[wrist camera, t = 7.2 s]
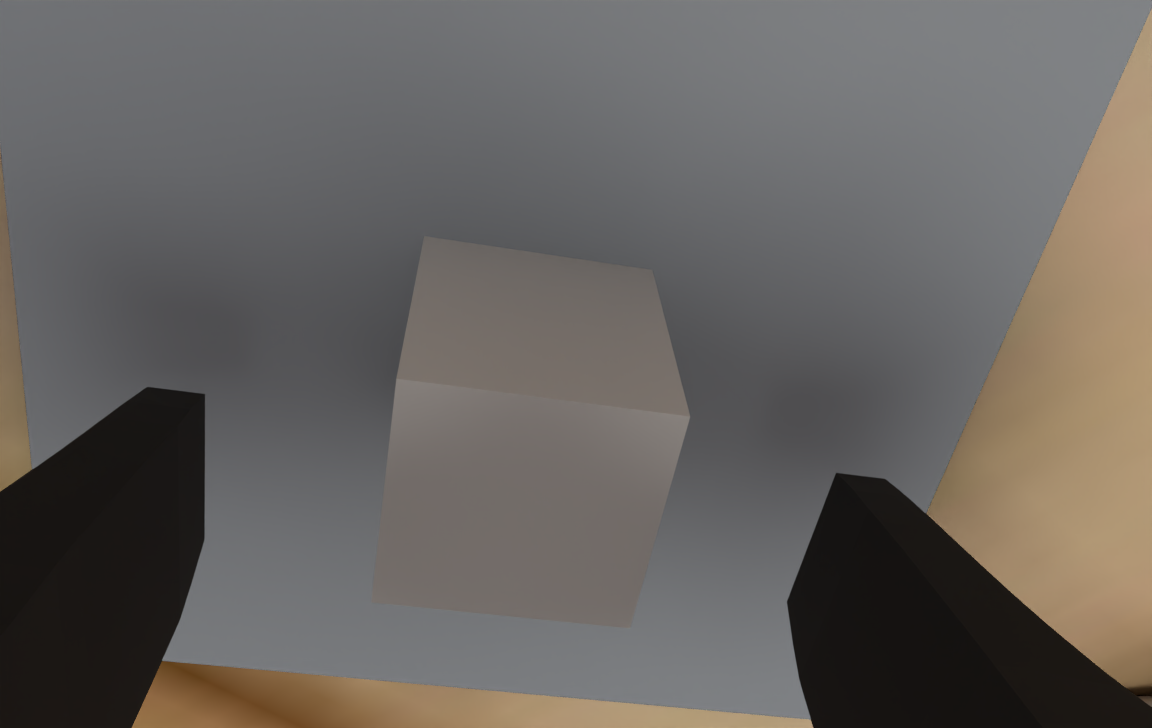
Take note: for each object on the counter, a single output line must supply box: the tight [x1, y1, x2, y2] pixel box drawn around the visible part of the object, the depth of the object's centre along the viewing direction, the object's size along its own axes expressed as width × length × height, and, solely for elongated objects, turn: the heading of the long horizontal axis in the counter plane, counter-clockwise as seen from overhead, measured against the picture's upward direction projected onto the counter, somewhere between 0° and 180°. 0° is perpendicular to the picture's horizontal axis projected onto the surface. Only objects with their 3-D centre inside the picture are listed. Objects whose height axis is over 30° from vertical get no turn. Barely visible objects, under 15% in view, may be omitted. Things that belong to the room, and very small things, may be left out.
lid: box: [0, 0, 1152, 719], centre depth 13 cm, size 13×13×4 cm
